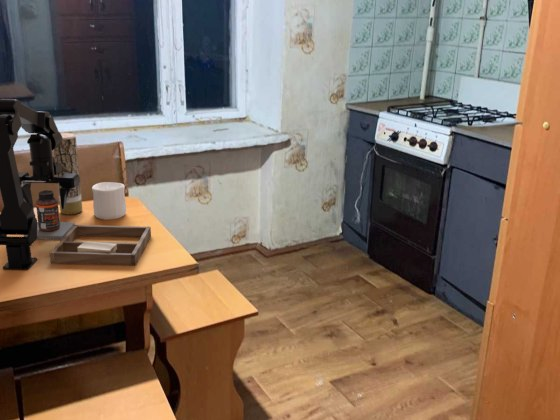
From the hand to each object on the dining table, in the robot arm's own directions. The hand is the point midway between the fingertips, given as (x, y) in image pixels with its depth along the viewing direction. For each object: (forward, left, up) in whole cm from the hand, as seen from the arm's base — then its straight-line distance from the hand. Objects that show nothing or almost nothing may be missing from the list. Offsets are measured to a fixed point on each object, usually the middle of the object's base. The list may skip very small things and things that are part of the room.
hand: (47, 208), depth 172 cm
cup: (+15, -13, -8) cm, 22 cm away
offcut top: (-18, -19, -5) cm, 27 cm away
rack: (-12, -19, -7) cm, 23 cm away
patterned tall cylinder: (+17, 0, -8) cm, 19 cm away
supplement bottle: (0, 0, -7) cm, 7 cm away
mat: (0, 0, -7) cm, 7 cm away
